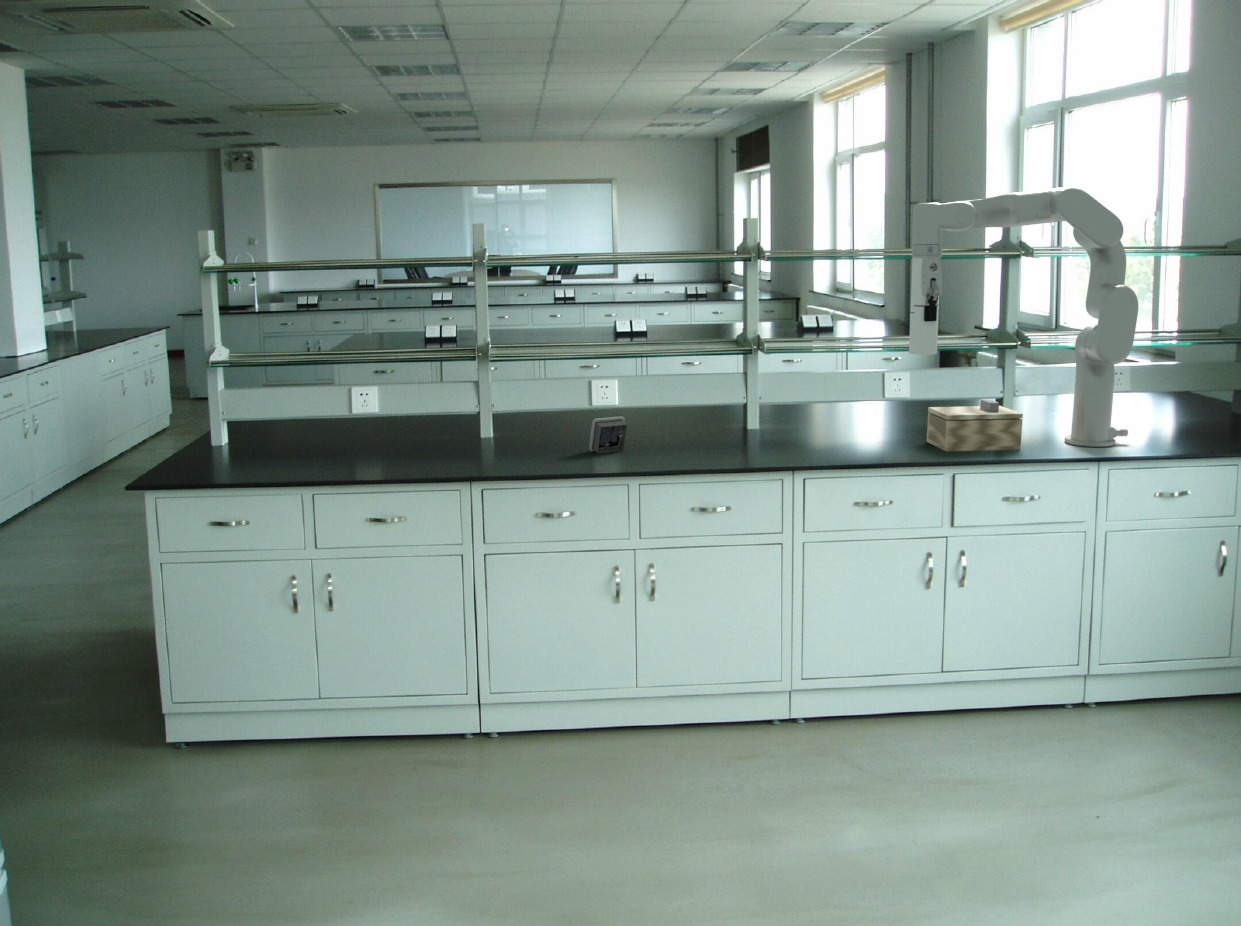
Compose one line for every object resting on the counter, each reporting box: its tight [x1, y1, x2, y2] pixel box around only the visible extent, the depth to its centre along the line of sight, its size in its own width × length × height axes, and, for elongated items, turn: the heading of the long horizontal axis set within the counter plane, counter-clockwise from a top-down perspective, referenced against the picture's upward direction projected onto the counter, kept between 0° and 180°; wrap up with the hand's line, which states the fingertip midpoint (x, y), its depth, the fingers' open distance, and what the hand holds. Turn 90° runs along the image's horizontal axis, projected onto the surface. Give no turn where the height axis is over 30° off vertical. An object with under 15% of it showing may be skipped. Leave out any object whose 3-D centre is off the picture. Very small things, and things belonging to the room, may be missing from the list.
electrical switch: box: [588, 416, 628, 454], centre depth 282 cm, size 9×5×9 cm, turn 118°
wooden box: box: [926, 412, 1024, 452], centre depth 286 cm, size 20×14×8 cm
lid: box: [927, 398, 1024, 420], centre depth 284 cm, size 20×14×4 cm
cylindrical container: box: [908, 257, 940, 356], centre depth 281 cm, size 7×7×25 cm
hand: (924, 319), depth 282 cm, fingers closed on cylindrical container, 7 cm apart
